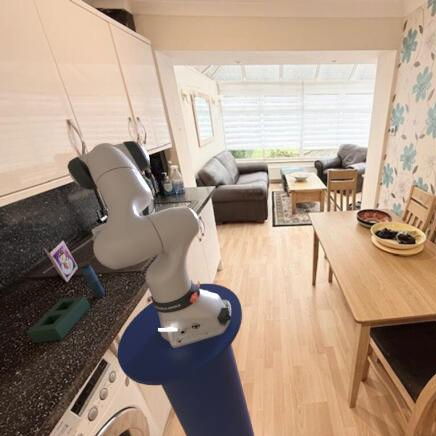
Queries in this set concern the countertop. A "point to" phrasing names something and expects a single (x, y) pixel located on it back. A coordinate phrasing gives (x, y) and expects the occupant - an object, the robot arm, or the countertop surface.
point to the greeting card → (63, 261)
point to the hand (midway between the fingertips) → (105, 239)
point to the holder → (59, 319)
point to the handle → (91, 278)
